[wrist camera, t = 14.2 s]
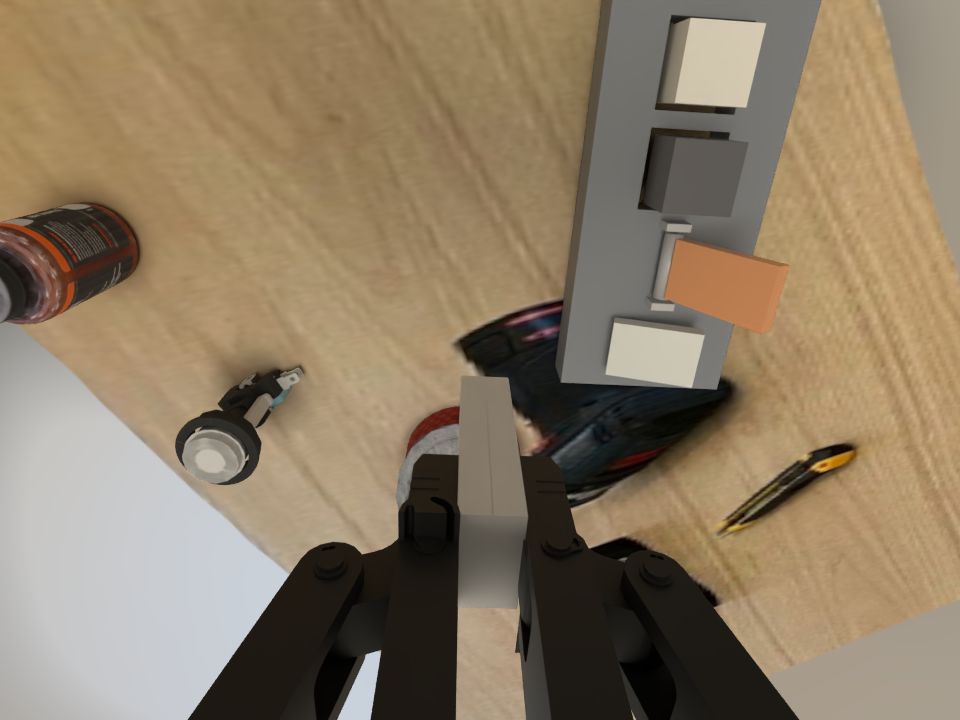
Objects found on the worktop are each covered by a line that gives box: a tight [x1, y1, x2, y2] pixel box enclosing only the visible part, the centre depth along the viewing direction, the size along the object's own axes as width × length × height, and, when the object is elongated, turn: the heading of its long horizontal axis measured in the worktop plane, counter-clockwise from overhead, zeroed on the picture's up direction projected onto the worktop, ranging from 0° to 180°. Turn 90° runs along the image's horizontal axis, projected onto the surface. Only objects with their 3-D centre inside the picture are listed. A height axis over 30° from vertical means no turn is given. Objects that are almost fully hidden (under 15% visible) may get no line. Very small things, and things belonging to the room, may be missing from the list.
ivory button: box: [656, 18, 766, 108], centre depth 33 cm, size 4×4×4 cm
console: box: [555, 0, 821, 389], centre depth 37 cm, size 26×12×4 cm, turn 177°
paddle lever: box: [653, 232, 790, 334], centre depth 35 cm, size 4×1×8 cm
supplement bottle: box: [0, 203, 138, 324], centre depth 35 cm, size 6×6×11 cm
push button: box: [175, 368, 304, 485], centre depth 40 cm, size 7×5×10 cm
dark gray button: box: [643, 134, 749, 217], centre depth 34 cm, size 4×4×4 cm
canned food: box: [396, 406, 520, 509], centre depth 45 cm, size 11×10×10 cm
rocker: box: [605, 317, 705, 388], centre depth 39 cm, size 4×6×1 cm, turn 87°
